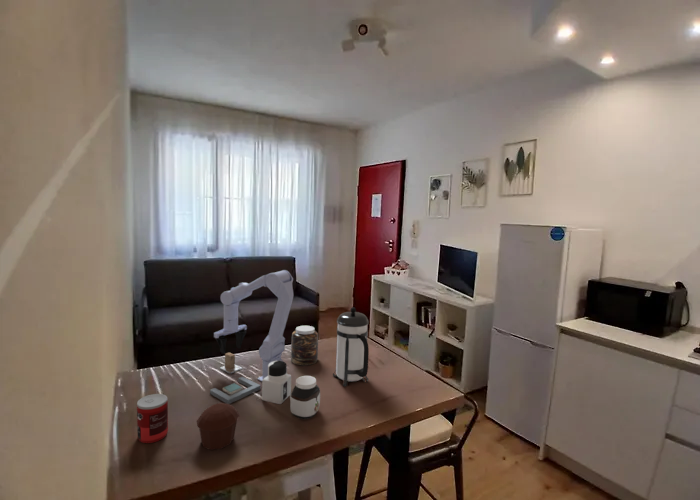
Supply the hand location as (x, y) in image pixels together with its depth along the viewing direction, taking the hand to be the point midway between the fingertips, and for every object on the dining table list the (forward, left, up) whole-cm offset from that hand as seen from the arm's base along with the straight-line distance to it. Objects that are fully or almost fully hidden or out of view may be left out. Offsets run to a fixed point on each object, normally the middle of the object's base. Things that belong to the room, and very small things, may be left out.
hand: (230, 350), depth 148 cm
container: (-32, +3, -8) cm, 33 cm away
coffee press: (-45, -26, -8) cm, 53 cm away
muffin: (-37, +30, -9) cm, 48 cm away
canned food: (-21, +41, -8) cm, 47 cm away
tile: (-15, +10, -9) cm, 20 cm away
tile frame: (-16, +10, -8) cm, 21 cm away
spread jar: (-45, +3, -9) cm, 46 cm away
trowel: (0, 0, -8) cm, 8 cm away
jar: (-17, -27, -9) cm, 33 cm away
